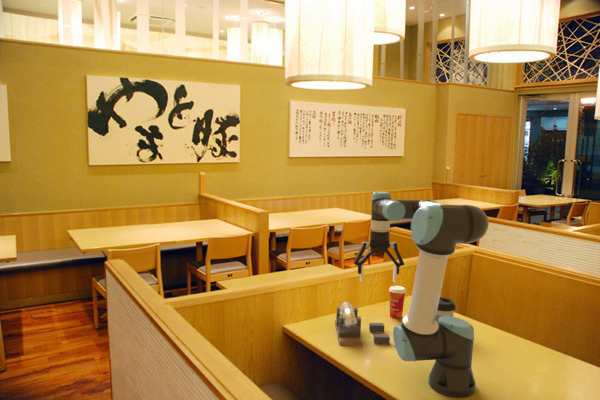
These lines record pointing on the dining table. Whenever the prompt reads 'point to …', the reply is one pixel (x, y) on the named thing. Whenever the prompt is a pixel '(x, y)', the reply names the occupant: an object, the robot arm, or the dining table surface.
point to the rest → (379, 337)
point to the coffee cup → (445, 308)
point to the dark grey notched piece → (348, 330)
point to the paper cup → (396, 301)
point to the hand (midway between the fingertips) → (377, 282)
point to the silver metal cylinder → (348, 315)
